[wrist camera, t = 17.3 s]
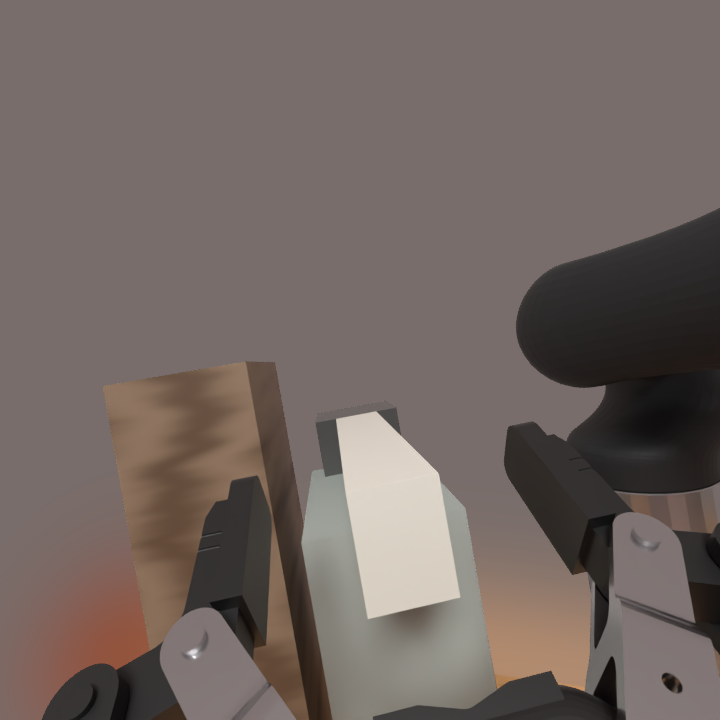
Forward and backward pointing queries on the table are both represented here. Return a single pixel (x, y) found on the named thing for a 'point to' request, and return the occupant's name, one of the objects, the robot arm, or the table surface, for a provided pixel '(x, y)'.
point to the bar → (390, 509)
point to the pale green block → (391, 621)
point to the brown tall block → (200, 492)
